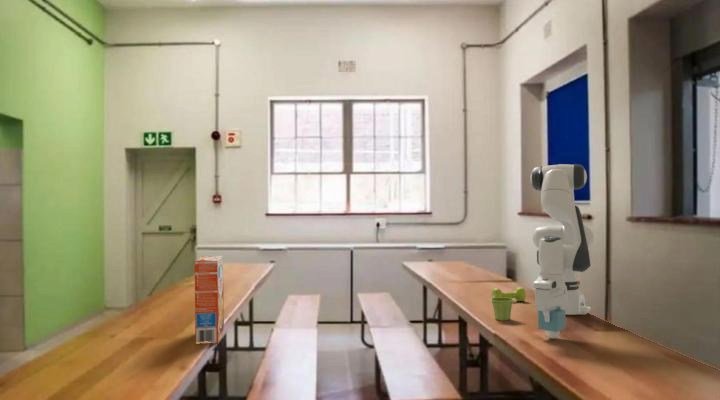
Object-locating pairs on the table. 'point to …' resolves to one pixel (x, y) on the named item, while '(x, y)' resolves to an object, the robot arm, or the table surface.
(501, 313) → the plant pot
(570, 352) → the table surface
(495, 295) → the dumbbell
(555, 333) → the ball
